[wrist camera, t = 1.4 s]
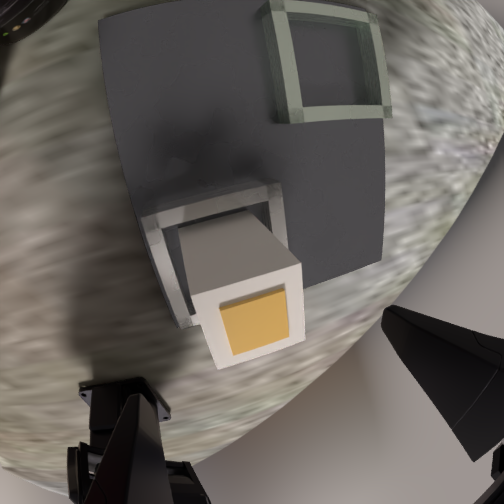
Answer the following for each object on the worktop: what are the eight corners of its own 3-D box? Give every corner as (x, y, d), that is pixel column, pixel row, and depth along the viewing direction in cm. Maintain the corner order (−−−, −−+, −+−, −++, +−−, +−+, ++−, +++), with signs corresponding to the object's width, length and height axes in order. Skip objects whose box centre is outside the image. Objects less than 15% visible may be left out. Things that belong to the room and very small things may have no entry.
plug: (258, 270, 17) (307, 342, 12) (195, 289, 17) (218, 373, 11) (248, 209, 15) (303, 265, 10) (177, 228, 15) (191, 299, 9)
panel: (376, 256, 21) (392, 268, 19) (175, 322, 18) (178, 342, 16) (359, 10, 12) (378, 4, 10) (100, 24, 9) (92, 11, 7)
